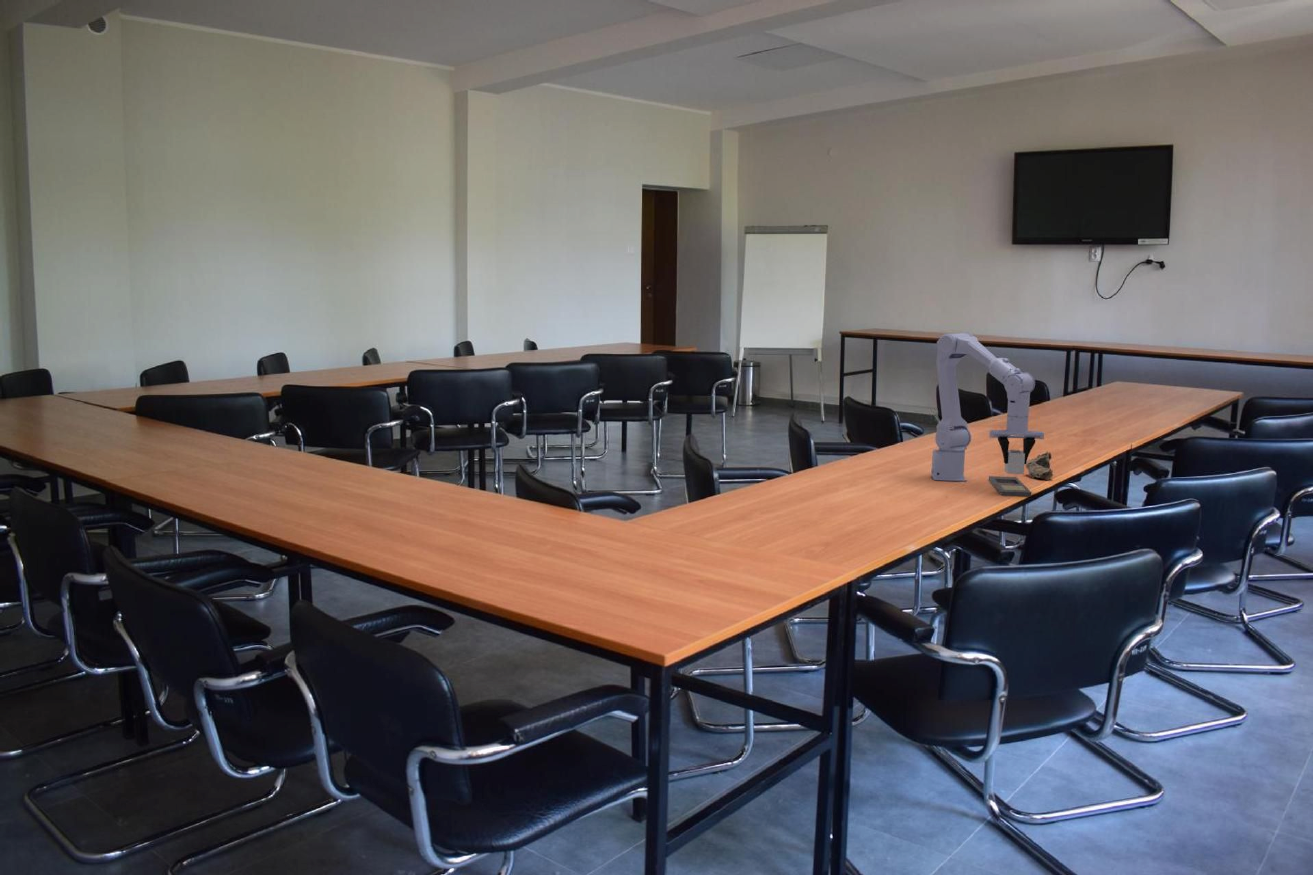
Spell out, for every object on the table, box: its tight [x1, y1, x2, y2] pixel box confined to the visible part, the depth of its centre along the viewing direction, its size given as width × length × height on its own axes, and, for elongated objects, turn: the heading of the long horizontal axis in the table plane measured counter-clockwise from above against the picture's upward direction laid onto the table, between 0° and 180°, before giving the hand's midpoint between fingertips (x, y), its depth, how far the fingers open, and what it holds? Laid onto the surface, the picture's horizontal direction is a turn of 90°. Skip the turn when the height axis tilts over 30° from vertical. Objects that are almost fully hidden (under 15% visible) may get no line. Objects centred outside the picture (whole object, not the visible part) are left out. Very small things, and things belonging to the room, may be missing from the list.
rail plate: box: [988, 475, 1032, 498], centre depth 302 cm, size 8×22×1 cm, turn 172°
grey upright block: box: [1004, 449, 1025, 475], centre depth 295 cm, size 4×4×6 cm
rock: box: [1025, 451, 1054, 481], centre depth 318 cm, size 9×7×10 cm
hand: (1014, 463), depth 295 cm, fingers closed on grey upright block, 4 cm apart
